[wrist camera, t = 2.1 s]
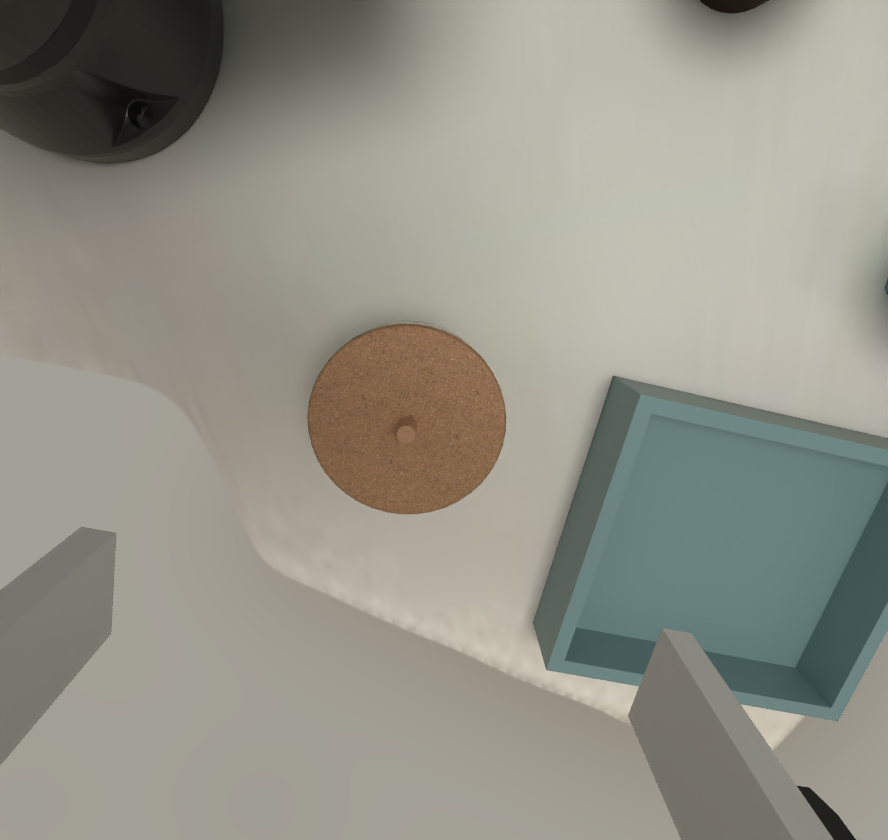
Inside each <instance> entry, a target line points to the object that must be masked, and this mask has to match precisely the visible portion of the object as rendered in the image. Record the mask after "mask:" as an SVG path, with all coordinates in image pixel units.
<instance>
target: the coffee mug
mask: <svg viewBox="0 0 888 840" xmlns="http://www.w3.org/2000/svg"><path fill="white" fill-rule="evenodd" d="M700 1H701V2H702V3H704V4H705V5H707V6H708V7H710V8H711V9H714V10H716V11H719V12H724V13H739V12H744V11H747V10H750V9H753V8H755V7H757V6H759V5H761V4H763V3H765V2H767V1H769V0H700Z"/></svg>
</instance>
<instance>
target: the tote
mask: <svg viewBox="0 0 888 840" xmlns="http://www.w3.org/2000/svg"><path fill="white" fill-rule="evenodd" d="M533 624H534V628H535V631H536V635H537V638H538V642H539V646H540V649H541V653H542V656H543V660H544V663H545V667H546V670H549V671H555V672H561V673H567V674H572V675H578V676H584V677H589V678H595V679H601V680H606V681H612V682H618V683H623V684H629V685H635V686H640V684H641V681H642V679H643V676H644V674H645V671H646V668H647V666H648V663H649V661H650V658H651V656H652V653H653V650H654V648H655V645H656V643H657V640H658V638H659V635H660V633H661V630H662V628H665V629H671V630H676V631H682V632H688V633H692V635H693V636H694V638H695V639H696V641H697V642H698V644H699V645H700V646H701V648H702V649H703V651H704V652H705V654H706V655H707V657H708V658H709V659H710V661H711V662H712V664H713V665H714V667H715V668H716V670H717V671H718V673H719V674H720V675H721V677H722V678H723V680H724V681H725V683H726V684H727V686H728V687H729V688H730V690H731V691H732V693H733V694H734V696H735V697H736V699H737V700H738V702H739V703H740V704H743V705H749V706H754V707H760V708H766V709H771V710H777V711H783V712H788V713H794V714H800V715H805V716H811V717H817V718H823V719H828V720H834V721H838V720H839V718H840V717H841V715H842V713H843V711H844V709H845V707H846V706H847V704H848V702H849V700H850V698H851V696H852V694H853V692H854V691H855V689H856V687H857V685H858V683H859V681H860V680H861V678H862V676H863V674H864V672H865V670H866V669H867V667H868V665H869V663H870V661H871V659H872V658H873V656H874V654H875V652H876V650H877V648H878V647H879V645H880V643H881V641H882V639H883V637H884V636H885V634H886V632H887V630H888V438H883V437H879V436H875V435H870V434H866V433H861V432H857V431H853V430H848V429H844V428H839V427H835V426H831V425H826V424H822V423H818V422H813V421H809V420H804V419H800V418H796V417H791V416H787V415H782V414H778V413H774V412H769V411H765V410H760V409H756V408H752V407H747V406H743V405H738V404H734V403H730V402H725V401H721V400H716V399H712V398H708V397H703V396H699V395H694V394H690V393H686V392H681V391H677V390H672V389H668V388H664V387H659V386H655V385H651V384H646V383H642V382H637V381H633V380H629V379H624V378H620V377H615V376H613V379H612V382H611V385H610V388H609V391H608V394H607V397H606V400H605V404H604V407H603V410H602V413H601V416H600V419H599V422H598V425H597V428H596V431H595V434H594V437H593V440H592V444H591V447H590V450H589V453H588V456H587V459H586V462H585V465H584V468H583V471H582V474H581V477H580V480H579V484H578V487H577V490H576V493H575V496H574V499H573V502H572V505H571V508H570V511H569V514H568V517H567V520H566V524H565V527H564V530H563V533H562V536H561V539H560V542H559V545H558V548H557V551H556V554H555V557H554V561H553V564H552V567H551V570H550V573H549V576H548V579H547V582H546V585H545V588H544V591H543V594H542V597H541V601H540V604H539V607H538V610H537V613H536V616H535V619H534V622H533Z"/></svg>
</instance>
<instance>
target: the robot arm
mask: <svg viewBox="0 0 888 840" xmlns="http://www.w3.org/2000/svg"><path fill="white" fill-rule="evenodd" d="M222 47H223V16H222V7H221V0H0V128H2V129H3V130H5V131H7V132H8V133H10V134H12V135H13V136H15V137H17V138H19V139H21V140H23V141H25V142H27V143H29V144H31V145H34V146H36V147H39V148H41V149H44V150H47V151H50V152H54V153H57V154H61V155H64V156H68V157H72V158H75V159H80V160H85V161H91V162H101V163H117V162H126V161H131V160H136V159H139V158H143V157H146V156H148V155H151V154H153V153H155V152H157V151H159V150H161V149H163V148H165V147H166V146H168V145H170V144H171V143H172V142H174V141H175V140H176V139H178V138H179V137H180V136H181V135H182V134H183V133H184V132H185V131H186V130H187V129H188V128H189V127H190V126H191V125H192V124H193V123H194V121H195V120H196V119H197V117H198V116H199V114H200V113H201V111H202V110H203V108H204V106H205V105H206V103H207V101H208V99H209V97H210V95H211V92H212V90H213V87H214V85H215V82H216V78H217V75H218V71H219V67H220V62H221V56H222ZM115 548H116V533H114V532H108V531H102V530H96V529H91V528H85V527H81V528H79V529H78V530H77V531H75V532H74V533H73V534H72V535H70V536H69V537H68V538H67V539H65V540H64V541H63V542H62V543H60V544H59V545H58V546H56V547H55V548H54V549H52V550H51V551H50V552H49V553H47V554H46V555H45V556H44V557H42V558H41V559H40V560H38V561H37V562H36V563H35V564H33V565H32V566H31V567H29V568H28V569H27V570H26V571H24V572H23V573H22V574H21V575H19V576H18V577H17V578H16V579H14V580H13V581H12V582H10V583H9V584H8V585H7V586H5V587H4V588H3V589H1V590H0V765H1V764H2V763H3V762H4V760H5V759H6V758H7V757H8V756H9V754H10V753H11V752H12V751H13V750H14V748H15V747H16V746H17V745H18V743H20V741H21V740H22V739H23V738H24V737H25V735H26V734H27V733H28V732H29V731H30V729H31V728H32V727H33V726H34V724H36V722H37V721H38V720H39V719H40V717H41V716H42V715H43V714H44V713H45V712H46V710H47V709H48V708H49V707H50V706H51V705H52V703H53V702H54V701H55V699H57V697H58V696H59V695H60V694H61V693H62V691H63V690H64V689H65V688H66V686H67V685H68V684H69V683H70V682H71V681H72V680H73V678H74V677H75V676H76V674H77V673H78V672H79V671H80V670H81V669H82V668H83V666H84V665H85V664H86V663H87V662H88V660H89V659H90V658H91V657H92V656H93V655H94V653H95V652H96V651H97V650H98V649H99V647H100V646H101V645H102V644H103V643H104V641H105V640H106V639H107V638H108V637H109V635H110V634H111V626H112V606H113V587H114V567H115ZM628 717H629V719H630V721H631V724H632V726H633V728H634V731H635V733H636V735H637V738H638V740H639V742H640V745H641V747H642V749H643V752H644V754H645V756H646V759H647V761H648V763H649V766H650V768H651V770H652V773H653V775H654V777H655V780H656V782H657V784H658V787H659V789H660V791H661V794H662V796H663V798H664V801H665V803H666V805H667V808H668V810H669V812H670V815H671V817H672V819H673V822H674V824H675V826H676V829H677V831H678V833H679V836H680V838H681V840H856V839H855V838H854V836H853V835H852V834H851V833H850V831H849V830H848V828H847V827H846V826H845V824H844V823H843V821H842V820H841V819H840V817H839V816H838V815H837V814H836V813H835V812H834V811H833V810H832V809H831V808H830V807H829V806H828V805H827V804H826V803H825V802H824V801H823V800H822V799H821V798H820V797H819V796H817V794H815V793H814V792H813V791H812V790H811V789H810V788H808V787H802V786H796V784H795V783H794V781H793V780H792V778H791V777H790V776H789V774H788V773H787V771H786V770H785V769H784V767H783V766H782V764H781V762H780V761H779V760H778V758H777V757H776V755H775V754H774V752H773V751H772V749H771V748H770V747H769V745H768V744H767V742H766V741H765V739H764V738H763V736H762V735H761V733H760V732H759V731H758V729H757V728H756V726H755V725H754V723H753V722H752V720H751V719H750V717H749V716H748V715H747V713H746V712H745V710H744V709H743V707H742V706H741V704H740V703H739V702H738V700H737V699H736V697H735V696H734V694H733V693H732V691H731V690H730V688H729V687H728V686H727V684H726V683H725V681H724V680H723V678H722V677H721V675H720V674H719V673H718V671H717V670H716V668H715V667H714V665H713V664H712V662H711V661H710V659H709V658H708V657H707V655H706V654H705V652H704V651H703V649H702V648H701V646H700V645H699V644H698V642H697V641H696V639H695V638H694V636H693V635H692V633H688V632H682V631H676V630H671V629H665V628H662V630H661V633H660V635H659V638H658V640H657V643H656V645H655V648H654V650H653V653H652V656H651V658H650V661H649V663H648V666H647V668H646V671H645V674H644V676H643V679H642V681H641V684H640V686H639V689H638V691H637V694H636V697H635V699H634V702H633V704H632V707H631V709H630V712H629V715H628Z"/></svg>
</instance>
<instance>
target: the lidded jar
mask: <svg viewBox="0 0 888 840" xmlns="http://www.w3.org/2000/svg"><path fill="white" fill-rule="evenodd" d="M308 429H309V435H310V440H311V444H312V447H313V450H314V452H315V455H316V457H317V459H318V461H319V463H320V465H321V466H322V468H323V469H324V471H325V473H326V474H327V475H328V476H329V477H330V479H331V480H332V481H333V482H334V483H335V484H336V485H337V486H338V487H339V488H340V489H341V490H342V491H344V492H345V493H346V494H347V495H349V496H350V497H352V498H354V499H355V500H357V501H358V502H360V503H363V504H365V505H367V506H369V507H371V508H374V509H378V510H381V511H385V512H390V513H397V514H419V513H426V512H432V511H435V510H438V509H442V508H445V507H447V506H449V505H451V504H453V503H456V502H458V501H459V500H461V499H462V498H464V497H465V496H467V495H468V494H470V493H471V492H472V491H473V490H474V489H475V488H477V487H478V486H479V485H480V484H481V483H482V482H483V480H484V479H485V478H486V477H487V475H488V474H489V473H490V471H491V470H492V468H493V466H494V465H495V463H496V461H497V459H498V457H499V454H500V451H501V449H502V446H503V441H504V436H505V431H506V412H505V404H504V400H503V396H502V393H501V390H500V387H499V385H498V382H497V380H496V378H495V376H494V374H493V372H492V371H491V369H490V368H489V367H488V365H487V364H486V362H485V361H484V359H483V358H482V357H481V356H480V355H479V354H478V353H477V352H476V351H475V350H474V349H473V348H472V347H470V346H469V345H468V344H467V343H466V342H465V341H463V340H462V339H461V338H459V337H458V336H457V335H455V334H453V333H451V332H449V331H447V330H445V329H443V328H440V327H437V326H434V325H431V324H426V323H419V322H396V323H390V324H385V325H382V326H379V327H376V328H373V329H371V330H369V331H367V332H365V333H363V334H361V335H359V336H357V337H355V338H353V339H352V340H351V341H349V342H348V343H347V344H345V345H344V346H343V347H341V348H340V349H339V350H338V351H337V352H336V353H335V354H334V355H333V356H332V357H331V358H330V359H329V361H328V362H327V363H326V365H325V366H324V368H323V369H322V371H321V372H320V374H319V376H318V378H317V380H316V382H315V385H314V387H313V390H312V394H311V397H310V401H309V409H308Z"/></svg>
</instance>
